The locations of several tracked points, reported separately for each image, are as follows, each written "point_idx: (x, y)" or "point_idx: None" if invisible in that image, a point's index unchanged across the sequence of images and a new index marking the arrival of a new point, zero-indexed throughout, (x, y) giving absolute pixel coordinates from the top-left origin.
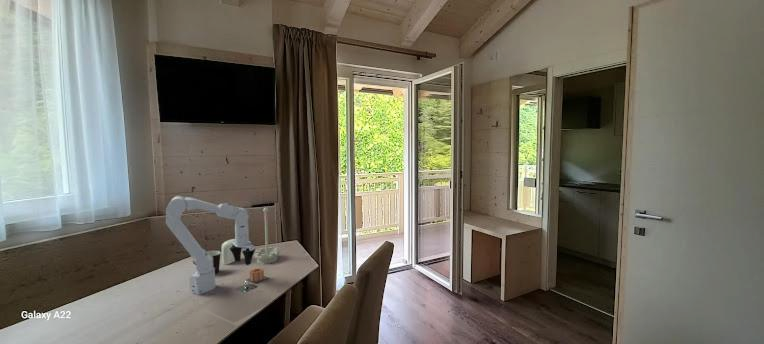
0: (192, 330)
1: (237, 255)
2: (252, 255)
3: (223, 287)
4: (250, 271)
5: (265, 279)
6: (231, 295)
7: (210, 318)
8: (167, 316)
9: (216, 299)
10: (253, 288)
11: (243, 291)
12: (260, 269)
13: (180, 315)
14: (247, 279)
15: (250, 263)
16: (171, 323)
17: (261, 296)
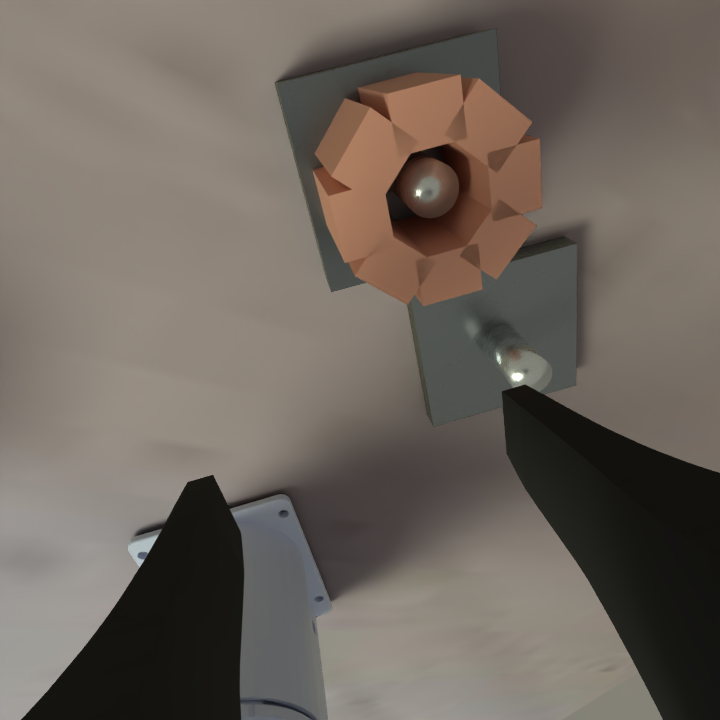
0: None
1: (219, 621)
2: (684, 470)
3: (273, 464)
4: (404, 293)
5: (496, 89)
6: (480, 450)
7: None
8: (432, 701)
9: (451, 531)
10: (573, 301)
11: (547, 387)
12: (455, 135)
13: (474, 666)
14: (338, 278)
15: (535, 392)
16: (516, 686)
17: (711, 283)
